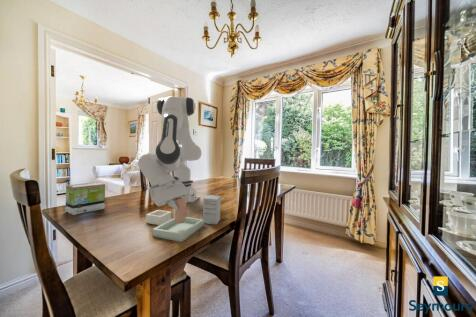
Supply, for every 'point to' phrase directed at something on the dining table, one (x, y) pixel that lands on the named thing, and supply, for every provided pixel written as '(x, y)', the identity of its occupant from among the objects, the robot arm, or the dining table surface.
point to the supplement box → (211, 209)
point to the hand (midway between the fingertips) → (181, 207)
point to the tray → (178, 229)
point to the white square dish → (158, 217)
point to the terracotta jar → (180, 210)
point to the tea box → (85, 197)
